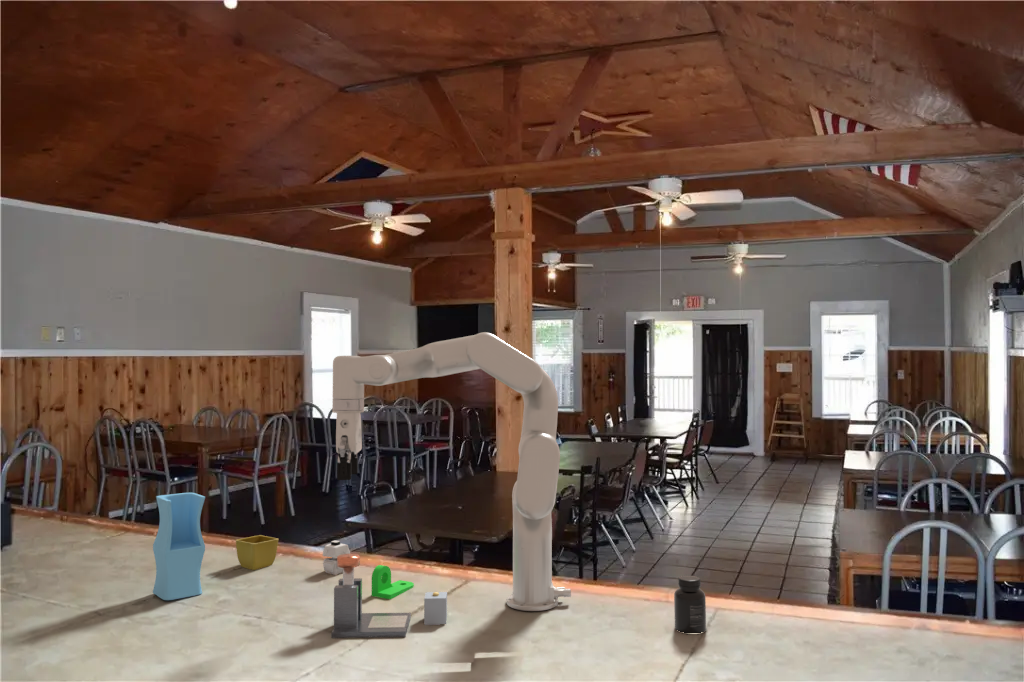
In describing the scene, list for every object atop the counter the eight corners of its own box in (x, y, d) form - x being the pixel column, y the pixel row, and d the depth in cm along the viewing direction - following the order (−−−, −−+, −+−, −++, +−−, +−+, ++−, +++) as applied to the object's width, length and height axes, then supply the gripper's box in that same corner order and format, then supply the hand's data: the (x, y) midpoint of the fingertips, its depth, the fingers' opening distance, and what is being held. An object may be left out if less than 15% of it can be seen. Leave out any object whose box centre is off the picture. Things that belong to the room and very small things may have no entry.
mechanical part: (390, 602, 197) (390, 570, 197) (371, 599, 200) (371, 567, 200) (418, 590, 208) (418, 560, 208) (399, 587, 210) (399, 557, 211)
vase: (164, 601, 198) (166, 500, 198) (152, 592, 205) (153, 496, 206) (204, 593, 204) (205, 496, 205) (191, 585, 211) (192, 492, 212)
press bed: (410, 617, 185) (410, 574, 185) (405, 636, 172) (405, 590, 172) (341, 618, 184) (342, 575, 184) (331, 638, 171) (331, 591, 171)
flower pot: (260, 565, 233) (260, 534, 233) (279, 569, 228) (279, 538, 228) (234, 571, 226) (234, 539, 226) (253, 576, 221) (253, 543, 221)
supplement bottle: (707, 629, 177) (707, 575, 177) (704, 639, 170) (704, 583, 171) (676, 626, 179) (676, 572, 179) (672, 635, 173) (672, 580, 173)
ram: (360, 606, 180) (361, 553, 181) (357, 613, 175) (357, 558, 176) (338, 606, 180) (339, 553, 180) (334, 613, 175) (335, 559, 175)
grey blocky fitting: (351, 575, 221) (352, 540, 222) (334, 581, 216) (335, 544, 216) (336, 572, 224) (336, 537, 225) (319, 578, 219) (319, 541, 219)
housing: (447, 617, 185) (447, 589, 185) (446, 624, 180) (446, 596, 180) (425, 618, 185) (425, 590, 185) (424, 625, 180) (424, 596, 180)
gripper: (358, 408, 183) (357, 482, 183) (368, 404, 201) (368, 472, 200) (325, 408, 183) (325, 482, 183) (339, 404, 200) (338, 472, 200)
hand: (347, 476), depth 191 cm, fingers open, 9 cm apart
